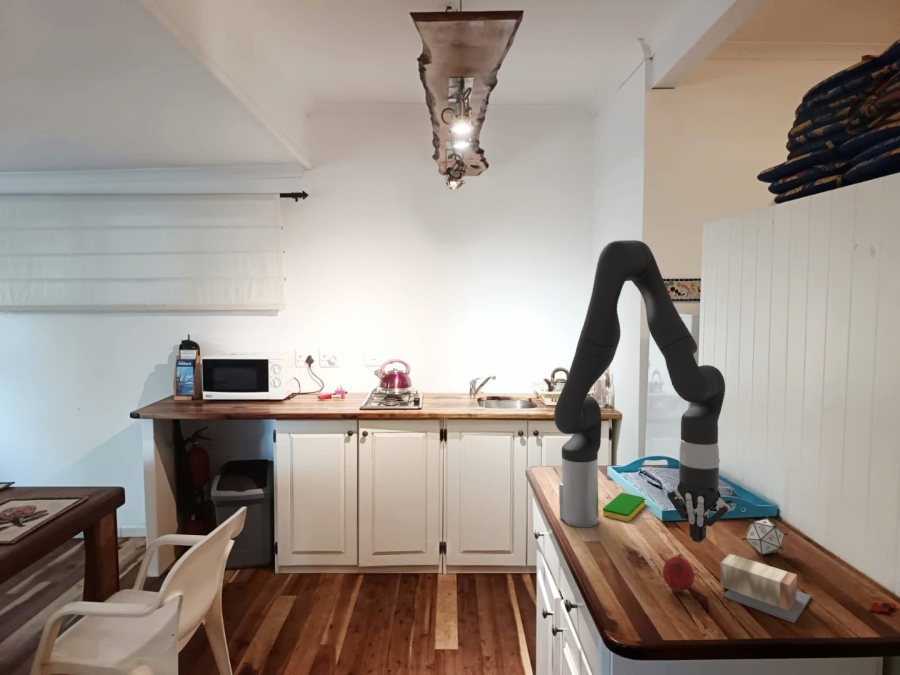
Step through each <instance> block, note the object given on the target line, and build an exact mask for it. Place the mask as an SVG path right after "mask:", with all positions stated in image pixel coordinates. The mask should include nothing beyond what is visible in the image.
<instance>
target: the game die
mask: <svg viewBox="0 0 900 675" xmlns="http://www.w3.org/2000/svg"><path fill="white" fill-rule="evenodd" d="M749 521H750V522H751V523H750V524H749V523H746V527H748V528H747V531H746V534H745V537H741V539H740V540H742V541H746V542H747V543H748V544H750V546H752V548H754V549H755V550H756V551H757V553H758V554H760V556H759V557H760V559H763V558H764V555H768V554H771V553H776V554H777V555H779V554H780V552H779V550H781V551H785V548H784V547H782V545H783V541H784V539H785V536H788V535H789V533H788V532H785V533H784V531H782V530H781V529H779V528H778V525H777V524H774V523H773V522H772V521H771V520H770V519H769V515H766V516H765V518H764V519H759V520H754V519H751V518H750V519H749Z"/></svg>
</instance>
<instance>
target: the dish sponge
mask: <svg viewBox="0 0 900 675" xmlns="http://www.w3.org/2000/svg"><path fill="white" fill-rule="evenodd" d="M643 497H644V496H639V495H636V494H635V495H634V494H630V493H626V492H620V493H619V494H617V496H616V497H614V498H613V499H612V500H610V502H609V503H607V504H606V505H604V507H603V508H602V515H604V516H603V517H607V516H608V518H610V519H615V520H620V521H624V522H630V521H631V520H632V519H633V518H634V517H635V516H636V515H637V514H638V513H639V512H640V511H641V510H642V509H643V508H644V507H645V506H646V505H645V501H644V500H646V499H644V498H643Z"/></svg>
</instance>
